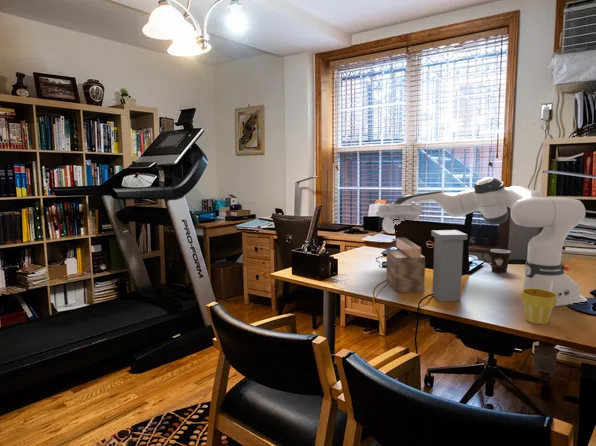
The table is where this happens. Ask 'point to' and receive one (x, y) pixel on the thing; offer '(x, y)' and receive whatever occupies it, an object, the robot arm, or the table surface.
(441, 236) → the pedestal shelf
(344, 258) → the table surface
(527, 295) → the plant pot
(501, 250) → the coffee mug
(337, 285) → the table surface
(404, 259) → the walnut block
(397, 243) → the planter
